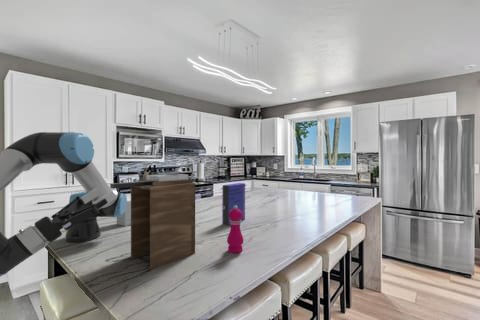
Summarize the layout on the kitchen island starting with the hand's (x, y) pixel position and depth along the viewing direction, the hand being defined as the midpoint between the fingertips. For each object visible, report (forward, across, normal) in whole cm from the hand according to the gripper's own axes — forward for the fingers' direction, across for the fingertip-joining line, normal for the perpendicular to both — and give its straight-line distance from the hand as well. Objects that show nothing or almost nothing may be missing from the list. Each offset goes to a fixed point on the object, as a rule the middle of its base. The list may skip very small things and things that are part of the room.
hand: (107, 191), depth 87 cm
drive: (+15, 0, +7) cm, 16 cm away
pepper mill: (+25, -19, +48) cm, 58 cm away
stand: (+5, 0, +36) cm, 36 cm away
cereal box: (+55, +14, +65) cm, 86 cm away
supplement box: (+13, +58, +41) cm, 73 cm away
